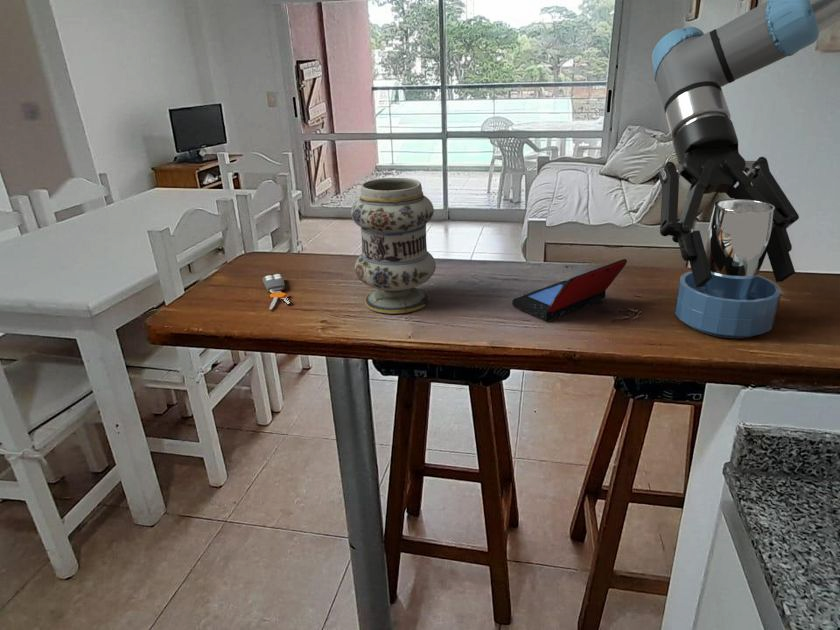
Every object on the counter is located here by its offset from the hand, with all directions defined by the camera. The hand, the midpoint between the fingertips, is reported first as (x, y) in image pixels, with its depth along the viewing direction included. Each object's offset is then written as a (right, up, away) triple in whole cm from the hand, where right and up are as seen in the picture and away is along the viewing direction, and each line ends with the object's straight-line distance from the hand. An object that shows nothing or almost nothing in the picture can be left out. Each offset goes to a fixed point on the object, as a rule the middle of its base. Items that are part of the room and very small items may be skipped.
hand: (744, 280), depth 71 cm
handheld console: (-19, -3, +12) cm, 23 cm away
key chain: (-63, -1, +21) cm, 67 cm away
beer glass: (0, -5, +6) cm, 7 cm away
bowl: (0, -5, +6) cm, 8 cm away
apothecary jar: (-44, -2, +17) cm, 47 cm away
